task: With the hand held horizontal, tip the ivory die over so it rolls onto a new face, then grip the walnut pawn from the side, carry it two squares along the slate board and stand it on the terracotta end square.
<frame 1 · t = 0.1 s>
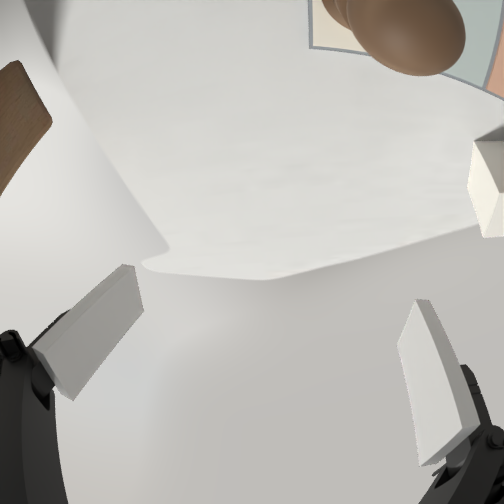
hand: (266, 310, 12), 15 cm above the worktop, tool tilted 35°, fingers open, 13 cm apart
wooden block: (18, 100, 18), on the worktop
board: (455, 20, 8), on the worktop
die: (494, 164, 17), on the worktop
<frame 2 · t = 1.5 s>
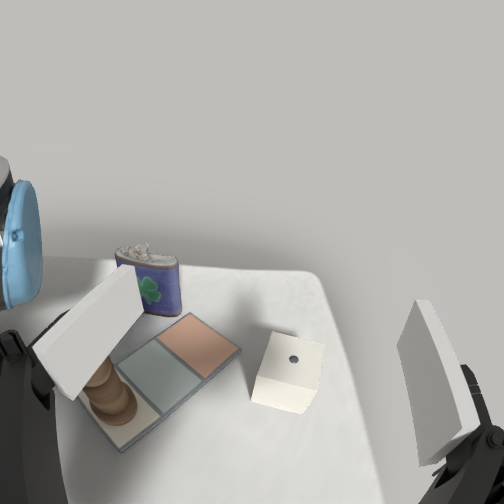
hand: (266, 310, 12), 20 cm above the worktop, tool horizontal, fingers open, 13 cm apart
pawn: (115, 404, 23), point 1 cm above the worktop, touching board
board: (158, 376, 28), on the worktop
die: (282, 387, 29), on the worktop
flask: (152, 308, 38), on the worktop
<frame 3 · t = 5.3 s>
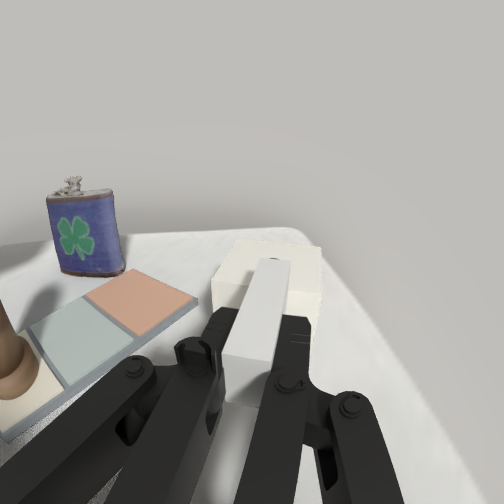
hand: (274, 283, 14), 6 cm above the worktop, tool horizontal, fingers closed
pawn: (11, 372, 12), point 1 cm above the worktop, touching board
board: (77, 340, 17), on the worktop
die: (268, 334, 20), on the worktop, touching gripper
flask: (90, 272, 27), on the worktop
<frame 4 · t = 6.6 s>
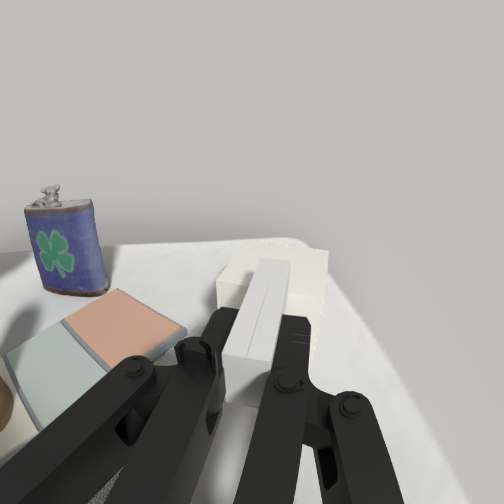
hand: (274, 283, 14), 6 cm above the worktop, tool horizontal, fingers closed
board: (54, 373, 14), on the worktop
die: (273, 335, 20), on the worktop, touching gripper
flask: (73, 289, 24), on the worktop
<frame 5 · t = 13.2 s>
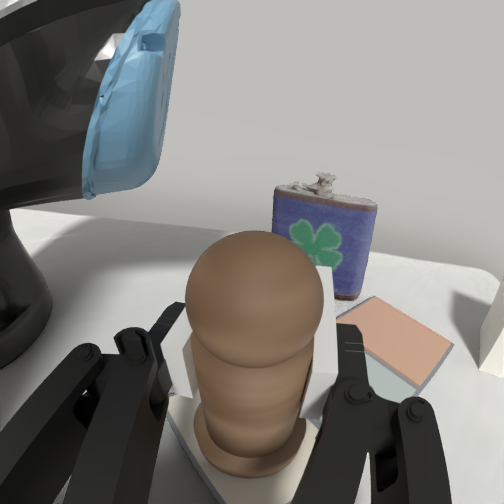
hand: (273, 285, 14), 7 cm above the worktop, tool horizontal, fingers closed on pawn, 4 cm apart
pawn: (249, 434, 12), point 1 cm above the worktop, touching board, gripper
board: (337, 386, 15), on the worktop
die: (503, 356, 15), on the worktop
flask: (312, 288, 26), on the worktop
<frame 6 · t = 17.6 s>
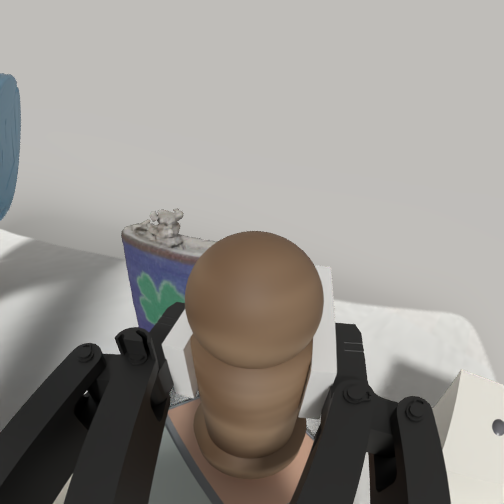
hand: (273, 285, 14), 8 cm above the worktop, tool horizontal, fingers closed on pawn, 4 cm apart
pawn: (249, 434, 12), point 2 cm above the worktop, touching gripper
board: (143, 490, 9), on the worktop
die: (437, 477, 9), on the worktop
flask: (183, 348, 20), on the worktop, touching gripper
when the fingers open (8 cm above the worktop, at t = 17.9 s): pawn drops 1 cm, resting on board.
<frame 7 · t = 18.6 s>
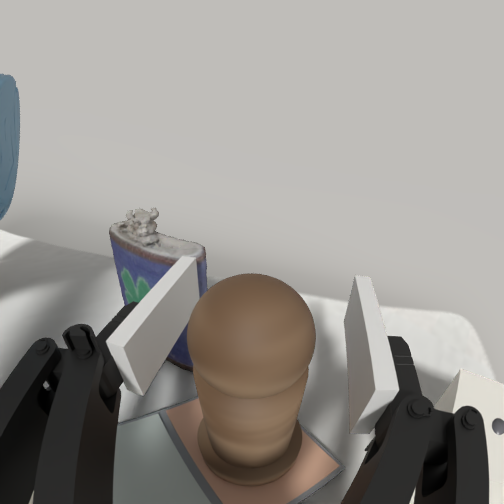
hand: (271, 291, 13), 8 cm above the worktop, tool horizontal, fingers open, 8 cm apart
pawn: (249, 445, 12), point 1 cm above the worktop, touching board
board: (142, 490, 9), on the worktop
die: (437, 477, 9), on the worktop
flask: (166, 343, 20), on the worktop, touching gripper
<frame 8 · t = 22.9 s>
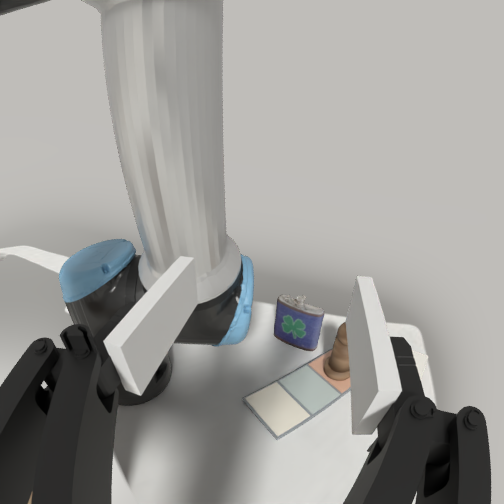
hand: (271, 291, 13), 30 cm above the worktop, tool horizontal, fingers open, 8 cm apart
pawn: (337, 369, 43), point 1 cm above the worktop, touching board
board: (308, 390, 40), on the worktop
die: (397, 383, 40), on the worktop
flask: (294, 341, 51), on the worktop
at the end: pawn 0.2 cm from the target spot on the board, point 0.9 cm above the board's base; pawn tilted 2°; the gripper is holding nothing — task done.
